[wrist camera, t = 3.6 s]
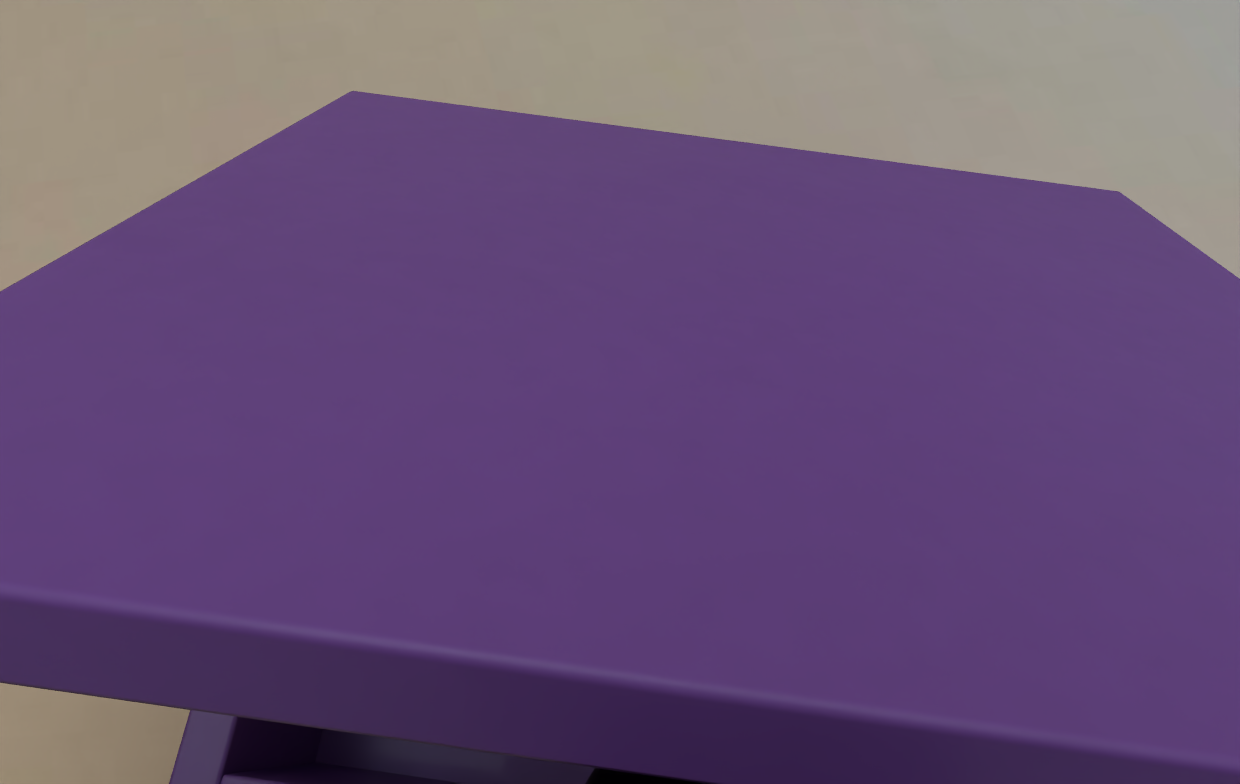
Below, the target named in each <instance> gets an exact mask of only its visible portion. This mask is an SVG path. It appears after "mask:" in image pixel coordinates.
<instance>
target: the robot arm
mask: <svg viewBox="0 0 1240 784" xmlns="http://www.w3.org/2000/svg"><path fill="white" fill-rule="evenodd" d="M585 784H704V783H697V782H690V781H683V780H676V779H669V778H662V777H655V776H648V775H641V774H634V773H627V772H620V771H613V770H606V769H599V768H594V770H593V771H592V773H591V775H590V776H589V778H588V780H587V781H586V783H585Z"/></svg>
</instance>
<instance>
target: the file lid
mask: <svg viewBox="0 0 1240 784" xmlns="http://www.w3.org/2000/svg"><path fill="white" fill-rule="evenodd" d="M0 683H7V684H14V685H20V686H27V687H34V688H41V689H48V690H55V691H62V692H69V693H76V694H83V695H90V696H97V697H104V698H111V699H118V700H125V701H132V702H139V703H146V704H153V705H160V706H167V707H174V708H181V709H188V710H195V711H202V712H209V713H216V714H223V715H230V716H237V717H244V718H251V719H258V720H264V721H271V722H278V723H285V724H292V725H299V726H306V727H313V728H320V729H327V730H334V731H341V732H348V733H355V734H362V735H369V736H376V737H383V738H390V739H397V740H404V741H411V742H418V743H425V744H432V745H439V746H446V747H453V748H460V749H467V750H474V751H481V752H488V753H495V754H502V755H509V756H515V757H522V758H529V759H536V760H543V761H550V762H557V763H564V764H571V765H578V766H585V767H592V768H599V769H606V770H613V771H620V772H627V773H634V774H641V775H648V776H655V777H662V778H669V779H676V780H683V781H690V782H697V783H704V784H1240V279H1239V278H1238V277H1236V276H1235V275H1233V274H1232V273H1231V272H1229V271H1228V270H1227V269H1225V268H1224V267H1222V266H1221V265H1220V264H1218V263H1217V262H1215V261H1214V260H1213V259H1211V258H1210V257H1209V256H1207V255H1206V254H1204V253H1203V252H1202V251H1200V250H1199V249H1198V248H1196V247H1195V246H1193V245H1192V244H1191V243H1189V242H1188V241H1187V240H1185V239H1184V238H1182V237H1181V236H1180V235H1178V234H1177V233H1175V232H1174V231H1173V230H1171V229H1170V228H1169V227H1167V226H1166V225H1164V224H1163V223H1162V222H1160V221H1159V220H1158V219H1156V218H1155V217H1153V216H1152V215H1151V214H1149V213H1148V212H1146V211H1145V210H1144V209H1142V208H1141V207H1140V206H1138V205H1137V204H1135V203H1134V202H1133V201H1131V200H1130V199H1129V198H1127V197H1126V196H1124V195H1123V194H1122V193H1120V192H1118V191H1110V190H1103V189H1095V188H1088V187H1080V186H1072V185H1065V184H1057V183H1049V182H1042V181H1034V180H1027V179H1019V178H1011V177H1004V176H996V175H989V174H981V173H973V172H966V171H958V170H951V169H943V168H935V167H928V166H920V165H913V164H905V163H897V162H890V161H882V160H875V159H867V158H859V157H852V156H844V155H836V154H829V153H821V152H814V151H806V150H798V149H791V148H783V147H776V146H768V145H760V144H753V143H745V142H738V141H730V140H722V139H715V138H707V137H700V136H692V135H684V134H677V133H669V132H661V131H654V130H646V129H639V128H631V127H623V126H616V125H608V124H601V123H593V122H585V121H578V120H570V119H563V118H555V117H547V116H540V115H532V114H525V113H517V112H509V111H502V110H494V109H487V108H479V107H471V106H464V105H456V104H448V103H441V102H433V101H426V100H418V99H410V98H403V97H395V96H388V95H380V94H372V93H365V92H357V91H351V92H349V93H347V94H345V95H344V96H342V97H340V98H338V99H337V100H335V101H333V102H331V103H330V104H328V105H326V106H324V107H323V108H321V109H319V110H317V111H316V112H314V113H312V114H310V115H309V116H307V117H305V118H303V119H302V120H300V121H298V122H296V123H295V124H293V125H291V126H289V127H288V128H286V129H284V130H282V131H281V132H279V133H277V134H275V135H274V136H272V137H270V138H268V139H267V140H265V141H263V142H261V143H260V144H258V145H256V146H254V147H253V148H251V149H249V150H247V151H246V152H244V153H242V154H240V155H239V156H237V157H235V158H233V159H232V160H230V161H228V162H226V163H225V164H223V165H221V166H219V167H218V168H216V169H214V170H212V171H211V172H209V173H207V174H205V175H204V176H202V177H200V178H198V179H196V180H195V181H193V182H191V183H189V184H188V185H186V186H184V187H182V188H181V189H179V190H177V191H175V192H174V193H172V194H170V195H168V196H167V197H165V198H163V199H161V200H160V201H158V202H156V203H154V204H153V205H151V206H149V207H147V208H146V209H144V210H142V211H140V212H139V213H137V214H135V215H133V216H132V217H130V218H128V219H126V220H125V221H123V222H121V223H119V224H118V225H116V226H114V227H112V228H111V229H109V230H107V231H105V232H104V233H102V234H100V235H98V236H97V237H95V238H93V239H91V240H90V241H88V242H86V243H84V244H83V245H81V246H79V247H77V248H76V249H74V250H72V251H70V252H69V253H67V254H65V255H63V256H62V257H60V258H58V259H56V260H55V261H53V262H51V263H49V264H48V265H46V266H44V267H42V268H41V269H39V270H37V271H35V272H34V273H32V274H30V275H28V276H27V277H25V278H23V279H21V280H20V281H18V282H16V283H14V284H13V285H11V286H9V287H7V288H6V289H4V290H2V291H0Z"/></svg>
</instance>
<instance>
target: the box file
mask: <svg viewBox="0 0 1240 784" xmlns="http://www.w3.org/2000/svg"><path fill="white" fill-rule="evenodd" d="M593 770H594V768H592V767H585V766H578V765H571V764H564V763H557V762H550V761H543V760H536V759H529V758H522V757H515V756H509V755H502V754H495V753H488V752H481V751H474V750H467V749H460V748H453V747H446V746H439V745H432V744H425V743H418V742H411V741H404V740H397V739H390V738H383V737H376V736H369V735H362V734H355V733H348V732H341V731H334V730H327V729H320V728H313V727H306V726H299V725H292V724H285V723H278V722H271V721H264V720H258V719H251V718H244V717H237V716H230V715H223V714H216V713H209V712H202V711H195V710H190V713H189V717H188V720H187V724H186V727H185V730H184V734H183V737H182V741H181V744H180V748H179V751H178V755H177V758H176V761H175V765H174V768H173V772H172V775H171V779H170V782H169V784H585V783H586V781H587V780H588V778H589V776H590V775H591V773H592V771H593Z"/></svg>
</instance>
